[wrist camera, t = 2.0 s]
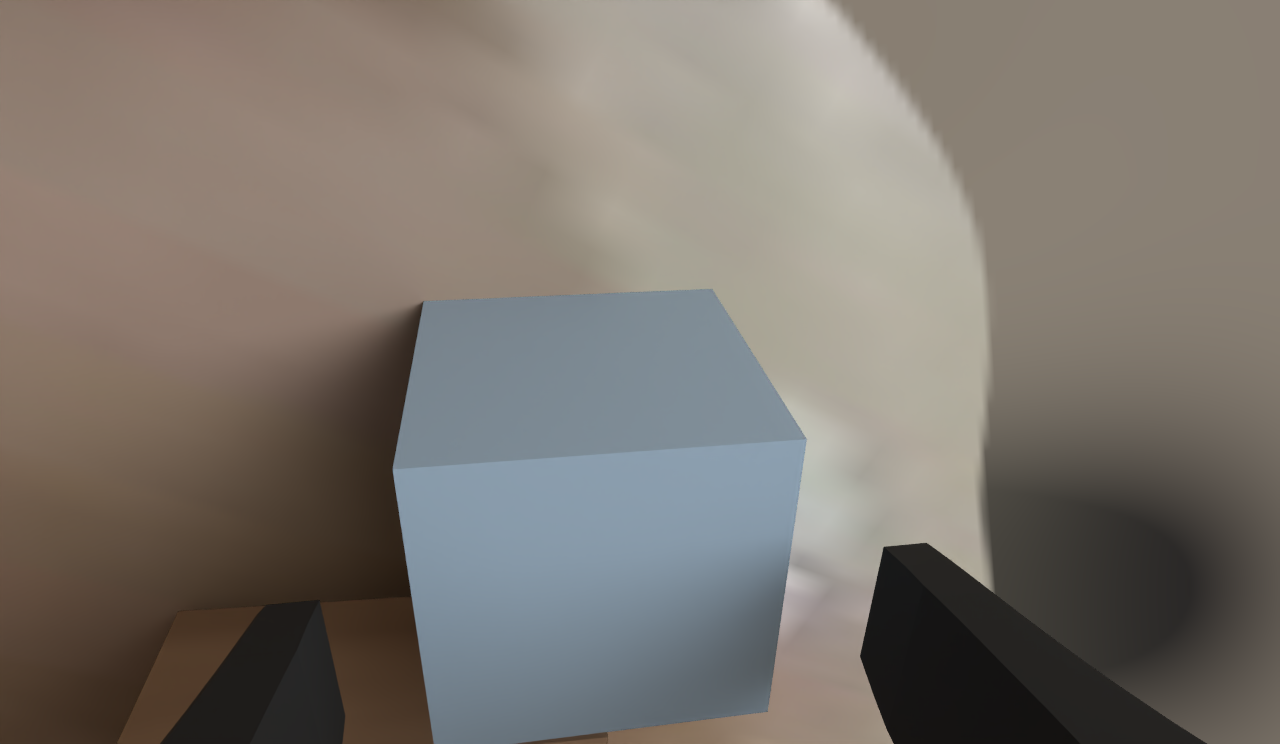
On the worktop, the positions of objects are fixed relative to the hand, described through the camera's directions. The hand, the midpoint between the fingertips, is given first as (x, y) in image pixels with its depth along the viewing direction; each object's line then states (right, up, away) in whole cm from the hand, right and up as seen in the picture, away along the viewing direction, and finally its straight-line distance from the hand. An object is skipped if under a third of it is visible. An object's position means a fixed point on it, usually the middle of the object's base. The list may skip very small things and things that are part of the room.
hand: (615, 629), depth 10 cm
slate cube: (-1, +3, +5) cm, 6 cm away
